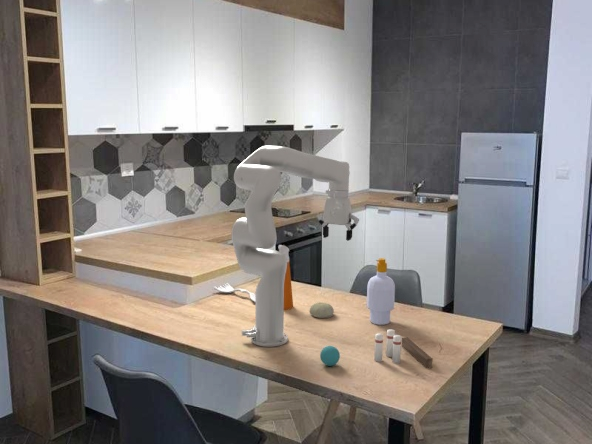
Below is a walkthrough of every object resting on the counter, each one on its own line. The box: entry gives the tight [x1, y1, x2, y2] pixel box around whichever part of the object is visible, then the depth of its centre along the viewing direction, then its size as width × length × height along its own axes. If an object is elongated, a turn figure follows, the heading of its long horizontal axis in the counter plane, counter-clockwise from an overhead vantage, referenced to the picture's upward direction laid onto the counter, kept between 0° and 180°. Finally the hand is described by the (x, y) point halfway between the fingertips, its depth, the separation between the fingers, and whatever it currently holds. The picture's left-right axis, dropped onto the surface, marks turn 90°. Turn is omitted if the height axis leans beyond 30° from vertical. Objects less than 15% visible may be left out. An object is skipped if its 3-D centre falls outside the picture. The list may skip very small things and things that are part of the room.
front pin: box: [374, 332, 384, 363], centre depth 186 cm, size 2×2×8 cm
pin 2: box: [391, 334, 402, 365], centre depth 185 cm, size 2×2×8 cm
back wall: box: [401, 337, 434, 369], centre depth 190 cm, size 2×18×3 cm, turn 14°
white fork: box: [213, 282, 256, 303], centre depth 250 cm, size 9×32×4 cm, turn 52°
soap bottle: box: [366, 258, 396, 326], centre depth 219 cm, size 10×10×24 cm
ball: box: [320, 345, 341, 367], centre depth 182 cm, size 6×6×6 cm
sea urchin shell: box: [309, 302, 335, 319], centre depth 228 cm, size 9×8×8 cm
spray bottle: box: [277, 244, 294, 311], centre depth 233 cm, size 7×11×26 cm, turn 159°
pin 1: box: [385, 329, 396, 358], centre depth 189 cm, size 2×2×8 cm
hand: (337, 238), depth 227 cm, fingers open, 9 cm apart
